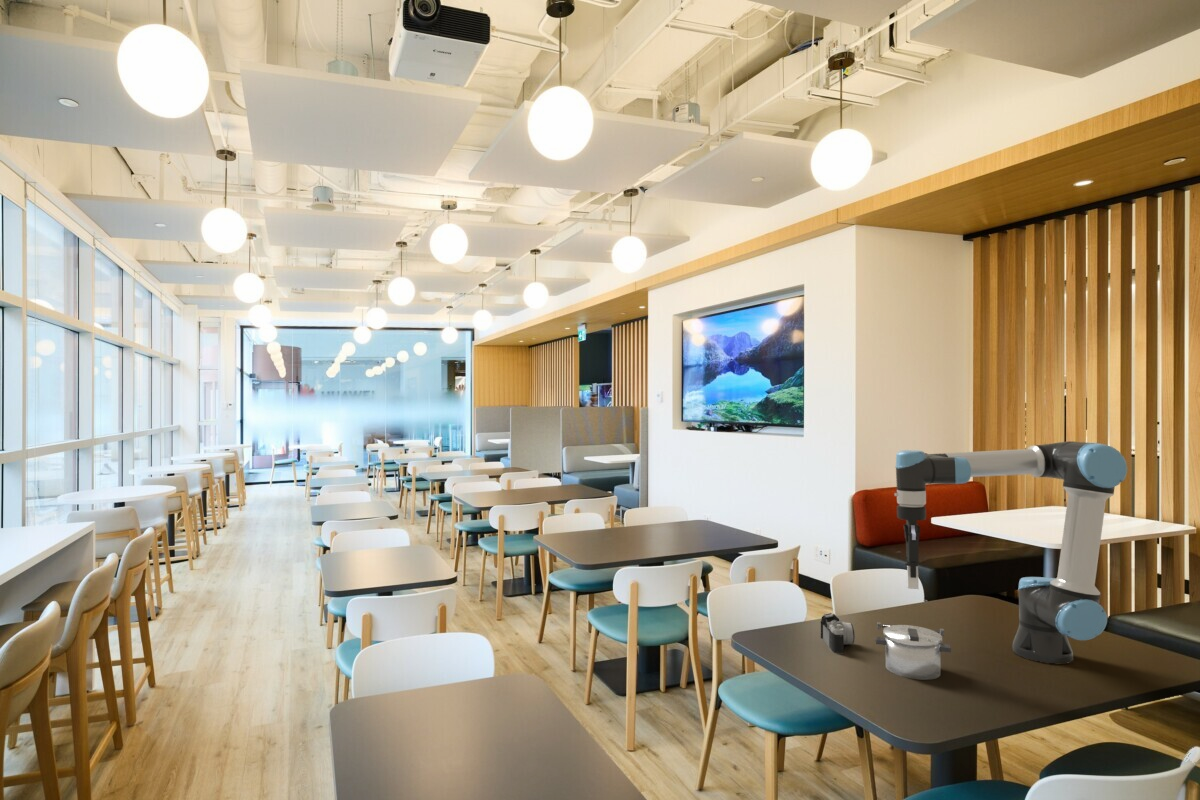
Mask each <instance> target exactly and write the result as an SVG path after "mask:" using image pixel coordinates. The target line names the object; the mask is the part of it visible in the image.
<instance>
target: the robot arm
mask: <svg viewBox="0 0 1200 800" xmlns="http://www.w3.org/2000/svg"><path fill="white" fill-rule="evenodd" d="M1127 472H1128V465H1127V461H1126V459H1125V457H1124V455H1123V454H1121V452H1120V451H1119V450H1117V449H1116V448H1115V447H1113V446H1111V445H1107V444H1104V443H1098V442H1083V441H1081V442H1080V441H1061V442H1054V443H1047V444H1045V443H1043V444H1035V445H1030V446H1028V447H1027V448H1023V449H1003V450H1000V449H999V450H986V451H985V450H982V451H981V450H980V451H964V452H963V451H962V452H945V453H926V452H925V451H923V450H908V449H907V450H899V451H897V453H896V457H895V476H896V477H895V478H896V492H894V493H893V494H894V497H896V503H897V506H896V517H897V519H899V520H903V521H906V523H905V524H903V530H904V539H905V550H906V553H905V554H906V556H905V558H906V562H905V563H904V565H905V566H906V567H907V568H906V574H907V581H906V583H907V588H908V590H909V589H911V590H912V589H913V590H919V566H920V565H921V562H920V561H919V552H920V551H919V547H920V546H919V544H920V543H919V542H920V533H921V526H920V525H919V524H918V521H924V520H926V519H927V507H926V506H925V505H926V504H927V491H926V490H927V489H926V485H936V484H937V485H942V484H943V485H959V484H961V485H962V484H967V483H968V482H969V481H970V479H971V478H976V477H997V476H999V477H1000V476H1021V475H1030V476H1032V477H1033V478H1051V479H1059V480H1063V483H1062V488H1063V490H1064V491H1065V492H1066V493H1067V495H1068V496H1067V502H1066V503H1067V504H1066V511H1065V518H1064V524H1063V525H1064V526H1063V531H1062V532H1063V534H1062V540H1061V548H1060V554H1059V563H1058V569H1057V570H1058V571H1057V575H1056V576H1057V577H1056V578H1055V577H1041V576H1025V577H1021V578H1019V582H1018V589H1017V591H1018V619H1019V620H1018V621H1019V622H1018V628H1017V631H1016V633H1015V636H1014V638H1013V640H1012V652H1013V653H1014V654H1016V655H1018V656H1019V657H1021V658H1024V659H1026V660H1029V659H1030V661H1033V660H1034V661H1033V662H1037V661H1040V662H1039V663H1042V662H1047V663H1046V664H1049V663H1067V662H1071V661H1072V660H1073V661H1074V652H1073V649H1072V646H1071V643H1070V642H1069V638H1071V639H1073V640H1076V641H1088V640H1093V639H1095V638H1096V637H1097V636H1100V635H1101V634H1102V633H1103V632H1104V631H1105V629H1106V627H1107V624H1108V615H1107V612H1106V610H1104V607H1103V606H1102V605H1101V604H1100V600H1101V592H1100V590H1099V589H1098V588H1097V587H1096V585H1095V584H1096V578H1097V570H1098V564H1099V563H1098V562H1099V561H1098V560H1099V555H1100V547H1101V540H1102V532H1103V526H1104V517H1105V511H1106V510H1105V508H1106V502H1107V500H1108V499H1109V498H1111V497H1112V496H1114V495H1115V487H1117V486H1118V485H1120V484H1121V483H1122V482H1123V481H1125V479H1126V478H1127V477H1126V476H1127V474H1128V473H1127ZM1073 661H1072V662H1073ZM1072 662H1071V663H1072Z"/></svg>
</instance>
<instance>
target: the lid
mask: <svg viewBox="0 0 1200 800" xmlns="http://www.w3.org/2000/svg"><path fill="white" fill-rule="evenodd" d="M882 628H883V630H882V631H883V636H884V637H886V638H887V639H889V640H891V641H894V642H897V643H900V644H904V645H910V646H918V647H931V646H937V645H940V644H943V636H941V635H940V629H939V630H937V629H929V628H927V627H923V626H922V627H921V626H916V625H911V624H909V625H908V624H893V625H888V624H881V629H882Z"/></svg>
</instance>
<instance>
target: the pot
mask: <svg viewBox="0 0 1200 800" xmlns="http://www.w3.org/2000/svg"><path fill="white" fill-rule="evenodd" d="M876 627H877V630H881V629H882V623H881V622H879V621H877V622H876ZM939 634H940V635H941V636H942V637H945V629H944V628H939ZM875 644H876V645H882V646H885V647H884V648H885V668H886V669H887V671H889V672H890V673H893V674H894V675H897V676H900V677H903V678H906V679H912V680H923V681H924V680H927V681H928V680H934V679H938V678H939V677H941V652H944V653H952V648H951V645H950V643H949V644H948V643H941V644H940V645H937V646H931V647H918V646H910V645H904V644H900V643H897V642H894V641H891V640H889V639H887V638H886V637H885V636H884V637H883V636H875Z"/></svg>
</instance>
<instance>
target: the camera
mask: <svg viewBox="0 0 1200 800" xmlns="http://www.w3.org/2000/svg"><path fill="white" fill-rule="evenodd" d="M855 637H856V636H855V629H854V626H853V624H852V623H851V622H845V621H842V619H841V618H840V617H839V616H838V615H837V614H835V613H833V614H832V612H827V613H823V615H822V616H821V619H820V639H822V640H823V642H824V643H825V644H826V646H827V647H828V649H829V650H830V651H831V652H832V653H833V654H844V648H845V647H844V646H847V645H854V643H855Z"/></svg>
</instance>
